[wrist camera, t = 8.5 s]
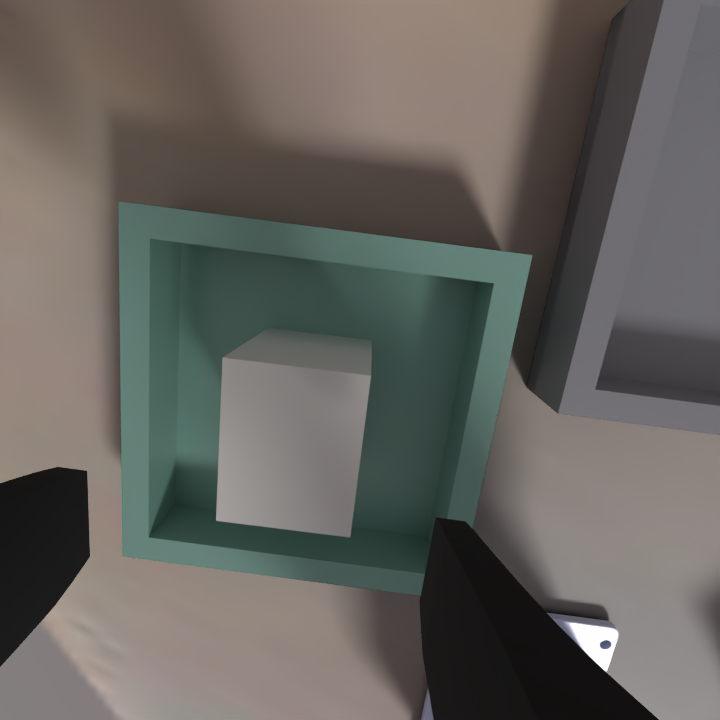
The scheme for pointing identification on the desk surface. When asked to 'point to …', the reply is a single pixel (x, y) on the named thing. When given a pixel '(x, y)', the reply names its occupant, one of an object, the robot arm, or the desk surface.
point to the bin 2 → (643, 233)
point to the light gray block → (292, 431)
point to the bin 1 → (321, 316)
